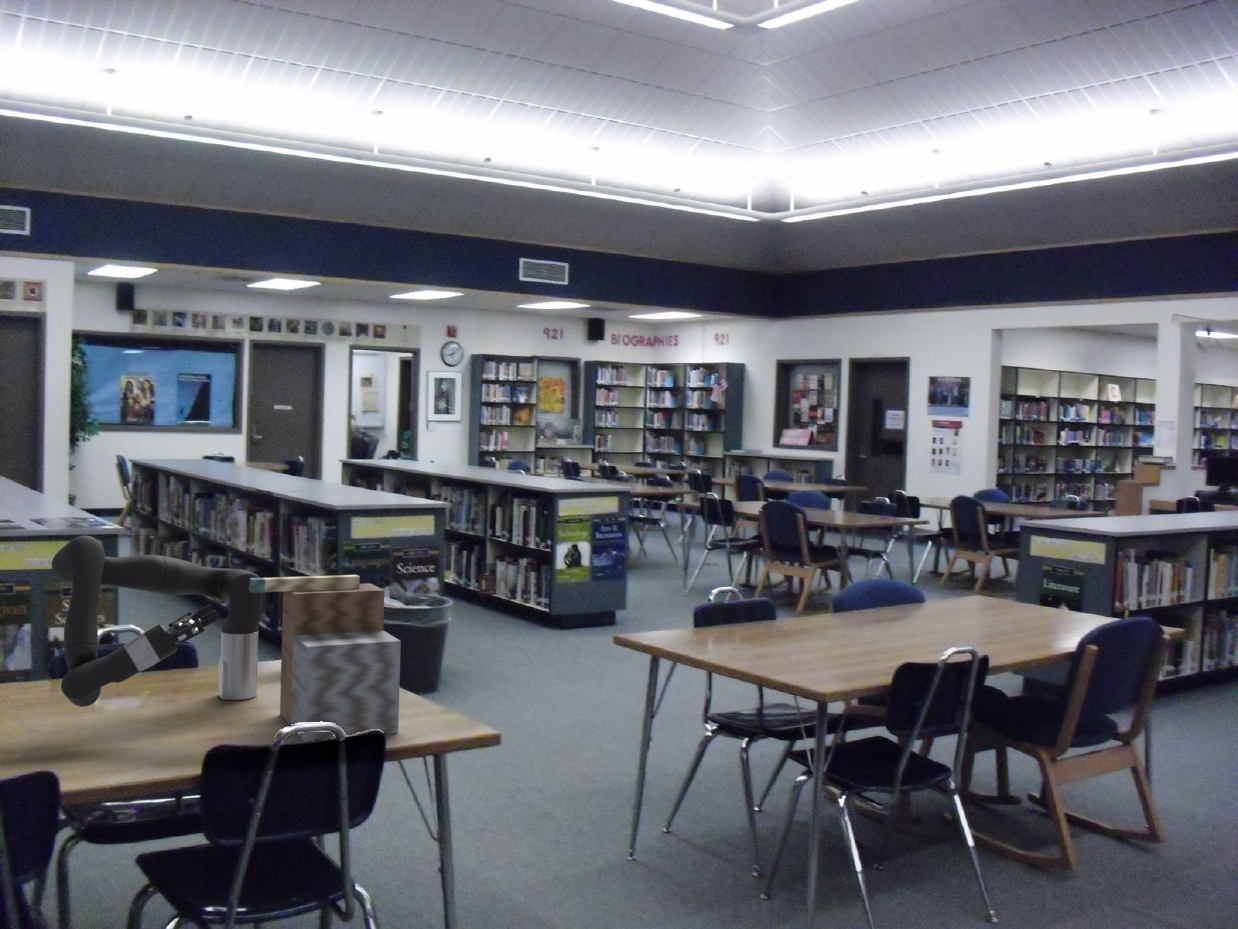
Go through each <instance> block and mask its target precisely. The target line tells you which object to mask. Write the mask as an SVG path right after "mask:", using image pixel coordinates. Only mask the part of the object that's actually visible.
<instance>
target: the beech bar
mask: <svg viewBox="0 0 1238 929" xmlns="http://www.w3.org/2000/svg"><path fill="white" fill-rule="evenodd" d="M360 578H361V576H360V575H357V574H342V575H310V576H308V575H307V576H306V575H305V576H281V577H279V576H278V577H277V576H275V577H260V578H250V581H249V591H250V592H251V593H260V592H263V593H275V592H277V593H278V592H283V591H306V590H332V589H358V588H359V586H360V584H361V583H360V582H361V581H360V580H361V579H360Z"/></svg>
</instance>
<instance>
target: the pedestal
mask: <svg viewBox="0 0 1238 929" xmlns="http://www.w3.org/2000/svg"><path fill="white" fill-rule="evenodd" d="M282 593H283V594H282V616H281V617H282V618H281V621H282V623H281V624H282V625H281V626H282V628H281V657H280V658H281V660H280V661H281V662H280V696H279V697H280V699H279V700H280V701H279V715H280V716H281V718H282V719H283V720H284V721H285V722H286V723H287V724H288V725H289V726H290V725H291V724H295V723H298V722H320V721H323V722H333V723H336V725H338V726H340V727H341V728H342V729H343V730H344V732H345V733H346V735H352V734H355V733H357V732H363V731H366V730H370V729H380V730H382V731H383V732H384V733H385V734H384V735H387V734H397V732H398V733H399V720H400V719H399V715H400V714H399V713H400V688H401V687H400V684H401V683H400V681H401V677H400V676H401V653H402V652H401V650H402V648H401V647H402V642H401V641H402V640H400V639H398V638H396V637H395V636H393V635H391V633H389V632H387V631H385V630H384V617H385V589H383V588H380V587H378V586H377V585H375V584H373V583H371V582H370V583H360V586H359V588H358V589H332V590H306V591H282ZM297 735H298V737H300V739H302V741H303V742H304V743H308V742H307V741H312V742H314V741H313V740H322V741H325V740H324V739H331V740H333V739H332V738H334V736H333V734H332V733H331V732H305V733H300V734H297Z"/></svg>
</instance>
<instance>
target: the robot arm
mask: <svg viewBox="0 0 1238 929" xmlns="http://www.w3.org/2000/svg"><path fill="white" fill-rule="evenodd" d="M51 568H52V571H53V573H54V574H55V575H56V576H57V577H58V578H59V579H60V580H62V581H64V582H67V583H71V584H72V590H71V596H70V601H69V605H68V609H67V614H66V618H65V621H64V622H65V623H64V629H63V656H64V660H65V662H66V665H67V673H66V674H65V675H64V676H63V678H62V679H61V683H60V689H61V692H62V693H63V695H64V696H65V698H67V699H68V701H69V702H70V703H72V704H73V705H74V706H77V707H80V708H82V707H83V708H85V707H89V706H92V705H94V703H95V702H96V701H97V700H98V699H99V697H100V695H101V692H102V687H104V686H106V685H108V684H111V683H116V684H119V683H122V682H125V681H126V680H127V679H130V678H131V677H133V676H135V675H136V674H138V673H139V672H142V671H144V670H147V669H148V668H151V667H152V666H154V665H156V664H157V663H159V662H161V661H163V660H164V659H166V658H167V657H170V656H171V655H173V654H174V653H177V651H178V648H177V647H176V644H175V643H177V642H179V644H184V643H186V642H188V641H189V640H190V639H193V638H194V637H196V636H198V635H200V634H202V633H204V632H205V630H206V628H207V626H209V625H211V624H213V623H214V622H216V621H218V620H220V618H221V615H220V613H219V612H218V611H217V610H215V609H214V608H213V606H212V605H211V604H210V603H209V604H207V605H205V606H203V607H201V608H200V609H198V610H196V611H188V612H187V613H186V614H183V615H182V616H180V617H179V618H177V619H175V620H174V621H172V622H170V623H168V625H167V626H168V627H169V628H167V629H166V628H165V627H164V625H163V624H161V623H159V624H156V625H155V626H153V627H152V628H150V629H148V630H147V631H145V632H142V633H141V634H139V635H138V636H135V637H134V638H132V639H131V640H129V641H128V642H127V643H125V644H124V645H122V646H121V647H119V648H117V649H115V650H113V651H112V652H110V653H108V654H107V655H105V656H102V657H98V655H99V654H98V652H99V648H98V647H99V640H98V638H99V634H98V633H99V632H98V624H99V623H98V622H99V621H98V619H99V618H98V614H99V603H100V593H101V585H103V586H112V587H119V588H126V589H131V590H136V591H137V590H138V591H144V592H145V591H146V592H149V593H156V594H163V595H169V596H170V595H173V596H174V595H175V596H185V595H197V596H205V597H209V598H212V599H216V600H219V601H223V602H226V603H228V605H229V606H228V616H227V617H226V618H225V619H223V620H222V622H221V630H220V632H221V633H220V634H221V636H220V638H221V639H220V640H221V641H220V658H219V660H218V684H217V685H218V687H217V690H218V693H217V694H218V696H219V697H220V699H221V700H232V701H237V700H238V701H239V700H248V699H252V698H255V697H257V695H258V693H257V692H258V658H259V657H258V656H259V655H258V653H259V652H258V651H259V625H260V623H261V621H262V616H263V608H264V607H263V606H264V605H263V603H264V592H260V593H251V592H250V591H249V581H250V578H261V577H260V576H259V575H258V574H257V573H254V572H252V571H248V570H245V569H241V568H222V567H221V568H220V567H218V568H217V567H209V566H203V565H200V564H198V563H194V562H191V561H187V560H184V559H180V558H176V557H171V556H166V555H160V554H139V555H132V556H131V555H130V556H121V557H117V556H116V557H115V556H113V557H112V556H106V554H105V548H104V546H103V545H102V543H101V542H100V541H99V539H96V538H95V537H93V536H90V535H79V536H76V537H75V538H73V539H71V540H69V542H67V543H66V544H64V546H63V547H61V548H60V549H59V550H58V551H57V552H56V553H55V555H54V556H53V558H52V561H51Z"/></svg>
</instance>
